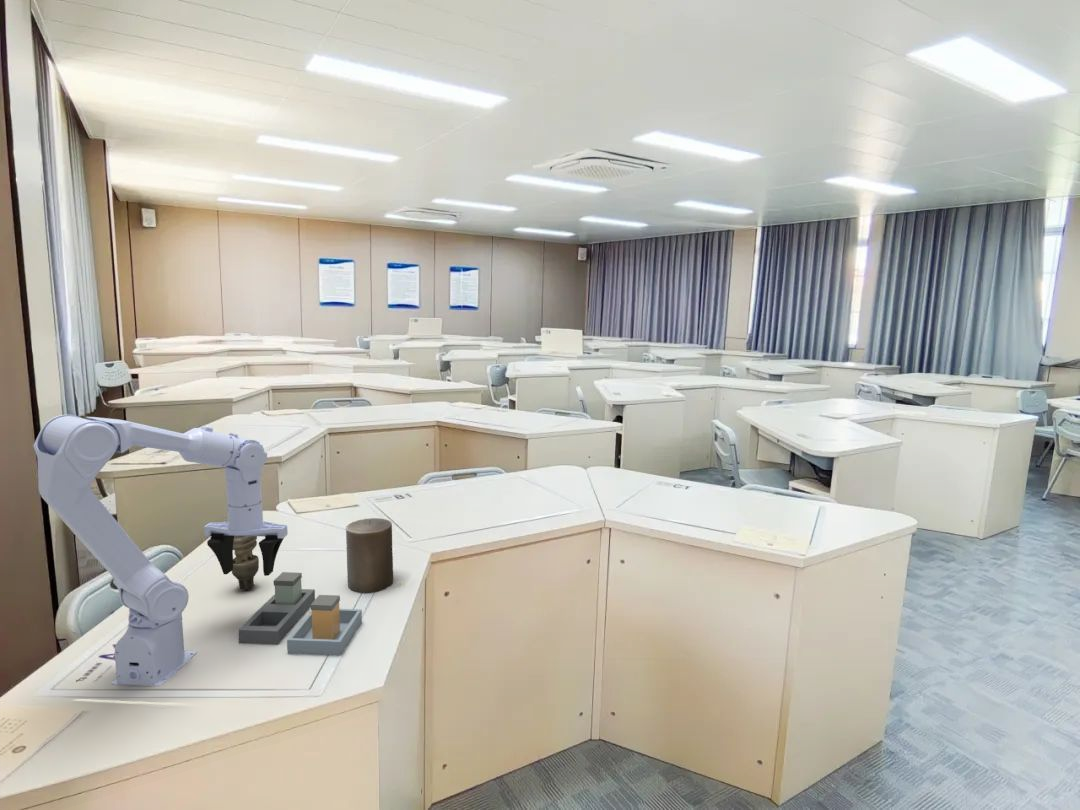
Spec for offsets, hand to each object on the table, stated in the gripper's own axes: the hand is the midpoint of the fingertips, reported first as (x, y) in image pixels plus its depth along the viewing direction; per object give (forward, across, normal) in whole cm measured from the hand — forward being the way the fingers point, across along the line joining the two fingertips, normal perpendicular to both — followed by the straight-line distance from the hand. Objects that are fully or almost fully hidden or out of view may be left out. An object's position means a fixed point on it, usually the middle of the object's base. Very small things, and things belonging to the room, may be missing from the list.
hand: (248, 572), depth 108 cm
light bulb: (+11, +8, -13) cm, 19 cm away
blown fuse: (+10, -16, +4) cm, 19 cm away
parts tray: (+10, -16, +4) cm, 19 cm away
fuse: (+10, -5, -5) cm, 12 cm away
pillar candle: (+11, -17, -18) cm, 27 cm away
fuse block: (+10, -5, -1) cm, 12 cm away
